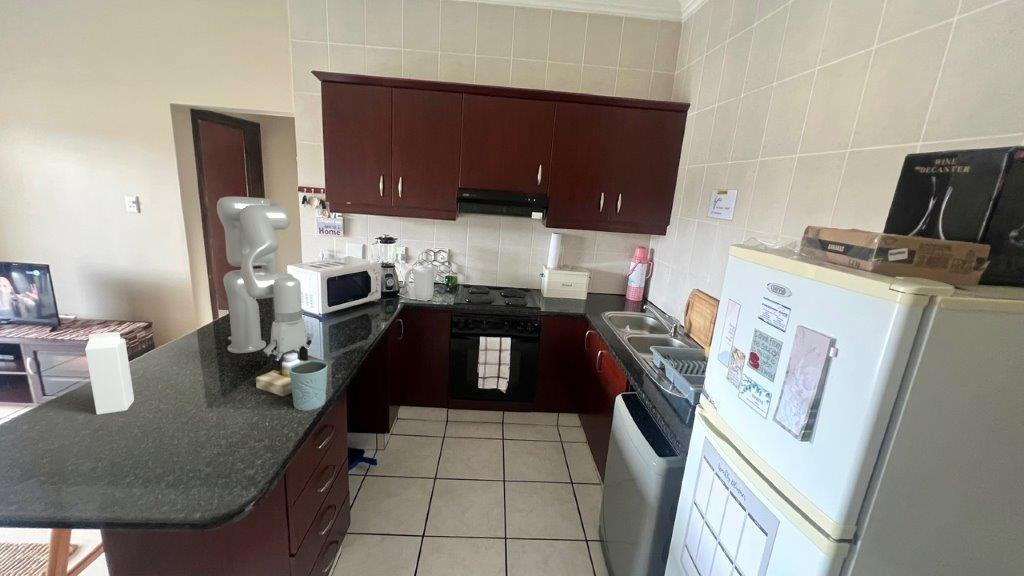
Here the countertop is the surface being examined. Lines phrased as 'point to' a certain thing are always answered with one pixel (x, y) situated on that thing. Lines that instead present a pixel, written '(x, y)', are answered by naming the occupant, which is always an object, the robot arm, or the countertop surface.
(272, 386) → the socket block
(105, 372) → the milk
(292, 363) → the supplement bottle
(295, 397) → the embossed blue-green cup
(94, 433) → the countertop surface
